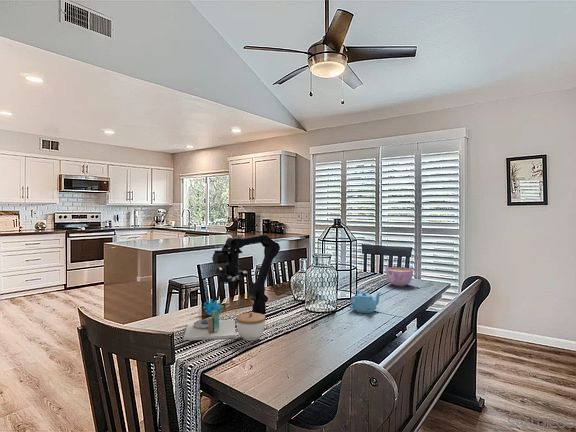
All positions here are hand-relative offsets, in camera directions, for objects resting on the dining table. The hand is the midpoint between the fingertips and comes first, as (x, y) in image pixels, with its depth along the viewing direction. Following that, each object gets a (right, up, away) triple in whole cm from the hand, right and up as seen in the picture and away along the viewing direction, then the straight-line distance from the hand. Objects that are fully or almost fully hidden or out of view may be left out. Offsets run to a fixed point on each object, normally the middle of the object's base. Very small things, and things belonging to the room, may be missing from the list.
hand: (233, 293), depth 184 cm
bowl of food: (+109, -11, +78) cm, 134 cm away
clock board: (-7, -13, -18) cm, 24 cm away
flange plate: (-9, -12, -17) cm, 23 cm away
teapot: (+71, -13, +14) cm, 73 cm away
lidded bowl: (+12, -14, -27) cm, 33 cm away
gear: (-12, -13, +7) cm, 19 cm away
